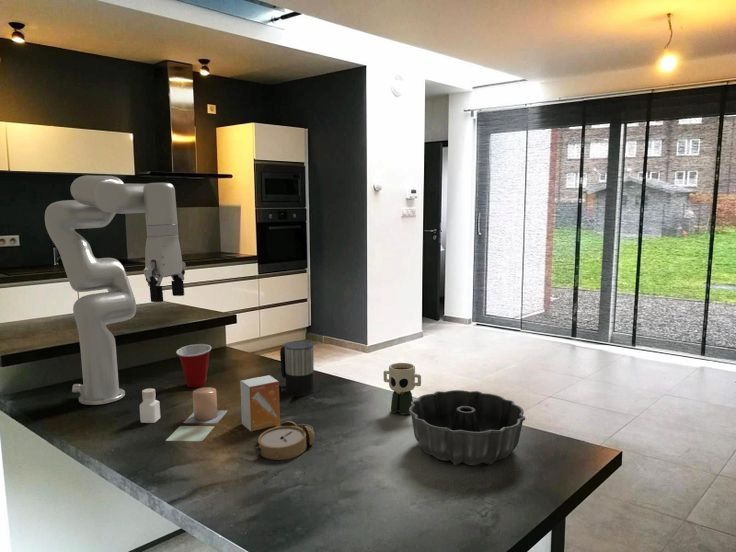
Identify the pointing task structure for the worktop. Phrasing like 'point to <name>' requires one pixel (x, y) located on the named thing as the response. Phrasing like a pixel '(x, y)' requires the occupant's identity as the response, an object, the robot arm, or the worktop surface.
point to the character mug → (402, 385)
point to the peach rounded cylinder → (205, 404)
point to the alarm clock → (285, 440)
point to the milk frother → (298, 367)
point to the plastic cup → (195, 363)
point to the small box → (260, 402)
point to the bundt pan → (466, 426)
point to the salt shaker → (149, 407)
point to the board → (194, 429)
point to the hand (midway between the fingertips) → (168, 298)
